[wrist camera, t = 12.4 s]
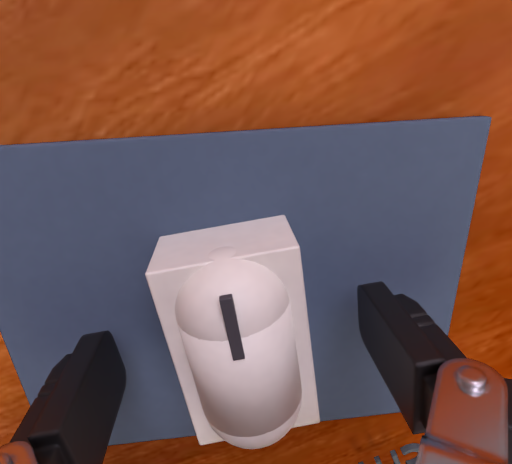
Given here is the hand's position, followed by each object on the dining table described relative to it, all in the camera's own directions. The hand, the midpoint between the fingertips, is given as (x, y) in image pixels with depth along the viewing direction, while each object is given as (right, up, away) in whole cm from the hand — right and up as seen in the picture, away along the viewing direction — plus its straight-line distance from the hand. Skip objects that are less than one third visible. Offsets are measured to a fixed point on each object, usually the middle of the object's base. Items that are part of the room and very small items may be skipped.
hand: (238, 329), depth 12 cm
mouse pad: (0, +1, +1) cm, 1 cm away
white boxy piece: (0, 0, +1) cm, 1 cm away
